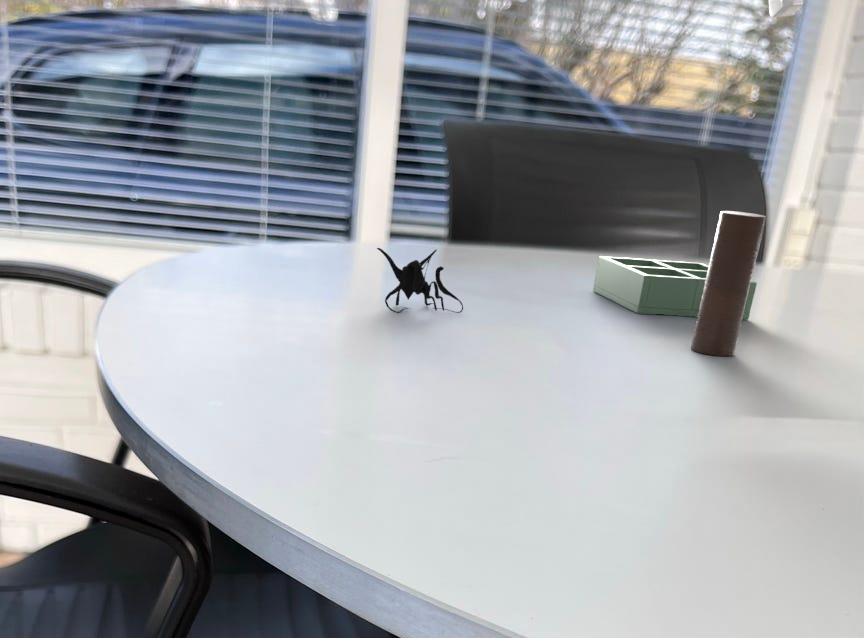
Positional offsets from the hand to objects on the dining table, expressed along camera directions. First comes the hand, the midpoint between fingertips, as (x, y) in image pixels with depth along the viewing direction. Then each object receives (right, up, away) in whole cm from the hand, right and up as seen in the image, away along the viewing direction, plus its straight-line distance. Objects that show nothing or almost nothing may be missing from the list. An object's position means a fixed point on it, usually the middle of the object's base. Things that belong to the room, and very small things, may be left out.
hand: (844, 0), depth 71 cm
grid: (-1, -8, +39) cm, 40 cm away
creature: (-28, -13, +25) cm, 39 cm away
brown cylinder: (-3, -19, +19) cm, 27 cm away
